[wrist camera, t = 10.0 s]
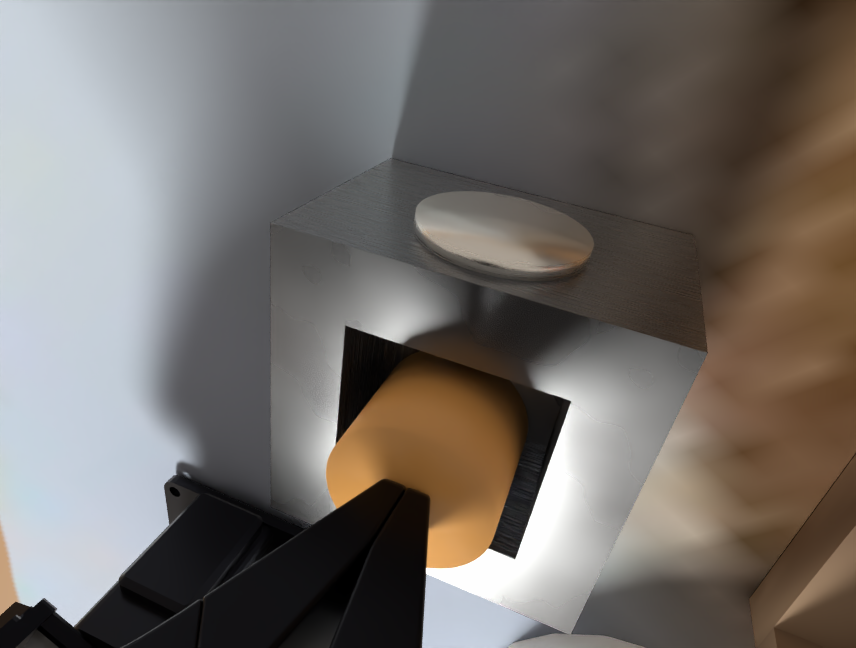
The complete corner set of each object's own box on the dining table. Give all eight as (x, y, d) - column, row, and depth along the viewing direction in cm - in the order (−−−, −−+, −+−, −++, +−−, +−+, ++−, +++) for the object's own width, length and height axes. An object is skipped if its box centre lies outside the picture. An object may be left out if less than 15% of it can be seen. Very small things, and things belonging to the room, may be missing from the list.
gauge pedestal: (595, 471, 16) (570, 635, 12) (365, 388, 17) (270, 507, 13) (700, 222, 12) (715, 335, 8) (391, 145, 14) (270, 205, 9)
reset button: (527, 439, 13) (476, 593, 10) (408, 397, 14) (322, 527, 11) (560, 332, 12) (515, 469, 8) (426, 290, 13) (330, 401, 9)
